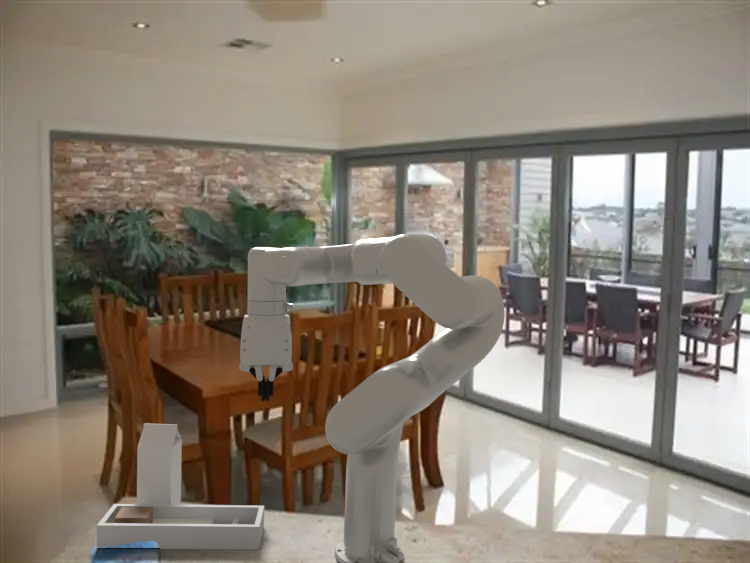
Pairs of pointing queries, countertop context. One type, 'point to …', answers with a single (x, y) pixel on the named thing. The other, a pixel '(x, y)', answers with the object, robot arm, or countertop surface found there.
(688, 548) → the countertop surface
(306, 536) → the countertop surface
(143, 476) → the milk carton
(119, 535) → the box
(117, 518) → the block
